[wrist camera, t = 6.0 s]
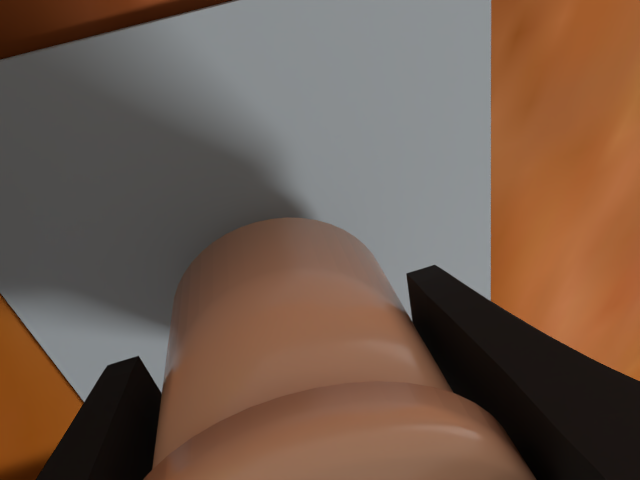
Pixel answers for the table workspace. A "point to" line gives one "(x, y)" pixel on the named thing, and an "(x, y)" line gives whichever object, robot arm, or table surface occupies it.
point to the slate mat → (236, 157)
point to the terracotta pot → (310, 371)
